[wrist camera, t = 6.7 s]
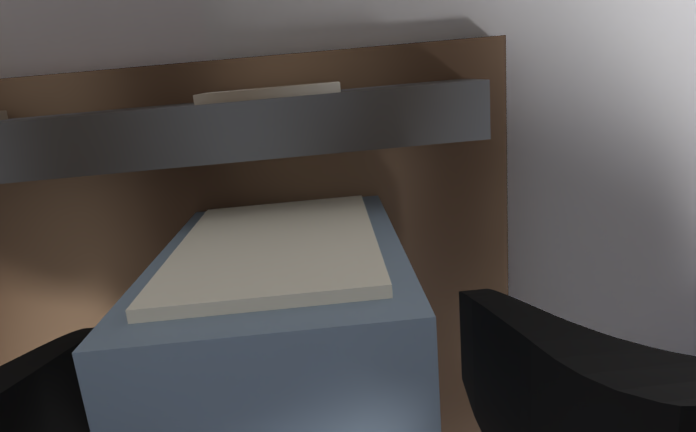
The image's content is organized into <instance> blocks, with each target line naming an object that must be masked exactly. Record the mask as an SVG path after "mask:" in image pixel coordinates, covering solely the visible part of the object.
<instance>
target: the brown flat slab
mask: <svg viewBox="0 0 696 432" xmlns="http://www.w3.org/2000/svg"><path fill="white" fill-rule="evenodd" d="M360 195H362V197H366V196H377V195H378V196H379V198H380V201H381V203H382V205H383V207H384V209H385V211H386V213H387V215H388V217H389V219H390V222H391V224H392V226H393V228H394V230H395V232H396V234H397V236H398V238H399V240H400V243H401V245H402V247H403V249H404V251H405V253H406V255H407V257H408V259H409V261H410V264H411V266H412V268H413V270H414V272H415V274H416V276H417V278H418V280H419V282H420V285H421V287H422V289H423V291H424V293H425V295H426V297H427V299H428V301H429V303H430V306H431V308H432V310H433V312H434V314H435V316H436V329H437V350H438V372H439V394H440V416H441V432H481V430H480V428H479V426H478V423H477V421H476V419H475V417H474V414H473V411H472V408H471V405H470V402H469V399H468V396H467V393H466V390H465V387H464V384H463V381H462V369H461V341H460V312H459V291H468V290H478V289H492V290H495V291H498V292H501V293H503V294H506V295H508V224H507V124H506V35H502V36H490V37H478V38H467V39H455V40H444V41H432V42H420V43H409V44H397V45H386V46H374V47H362V48H351V49H339V50H328V51H316V52H304V53H293V54H281V55H270V56H258V57H246V58H235V59H223V60H212V61H200V62H188V63H177V64H165V65H154V66H142V67H131V68H119V69H107V70H96V71H84V72H73V73H61V74H49V75H38V76H26V77H15V78H3V79H0V366H1V365H3V364H5V363H7V362H9V361H11V360H13V359H15V358H17V357H19V356H21V355H23V354H25V353H27V352H29V351H31V350H33V349H36V348H38V347H40V346H42V345H44V344H46V343H48V342H50V341H52V340H54V339H56V338H59V337H61V336H63V335H66V334H68V333H71V332H73V331H76V330H80V329H83V328H94V327H95V326H96V325H97V324H98V323H99V322H100V321H101V319H102V318H103V317H104V316H105V315H106V314H107V313H108V311H109V310H110V309H111V308H112V307H113V306H114V305H115V304H116V302H117V301H118V300H119V299H120V298H121V297H122V296H123V294H124V293H125V292H126V291H127V290H128V289H129V288H130V287H131V285H132V284H133V283H134V282H135V281H136V280H137V279H138V277H139V276H140V275H141V274H142V273H143V272H144V271H145V270H146V268H147V267H148V266H149V265H150V264H151V263H152V262H153V260H154V259H155V258H156V257H157V256H158V255H159V254H160V253H161V251H162V250H163V249H164V248H165V247H166V246H167V245H168V243H169V242H170V241H171V240H172V239H173V238H174V237H175V236H176V234H177V233H178V232H179V231H180V230H181V229H182V228H183V226H184V225H185V224H186V223H187V222H188V221H189V220H190V219H191V217H192V216H193V215H194V214H195V213H196V212H205V211H207V210H209V209H220V208H230V207H241V206H252V205H263V204H273V203H284V202H295V201H306V200H316V199H327V198H338V197H349V196H360Z"/></svg>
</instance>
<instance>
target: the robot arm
mask: <svg viewBox="0 0 696 432" xmlns="http://www.w3.org/2000/svg"><path fill="white" fill-rule="evenodd" d="M459 312H460V341H461V369H462V381H463V384H464V387H465V390H466V393H467V396H468V399H469V402H470V405H471V408H472V411H473V414H474V417H475V419H476V421H477V423H478V426H479V428H480V430H481V432H696V357H695V356H689V355H684V354H679V353H674V352H669V351H665V350H660V349H656V348H652V347H648V346H644V345H641V344H637V343H633V342H630V341H626V340H622V339H619V338H615V337H612V336H609V335H606V334H603V333H600V332H597V331H594V330H591V329H588V328H586V327H583V326H580V325H577V324H575V323H572V322H569V321H567V320H564V319H562V318H559V317H557V316H555V315H552V314H550V313H547V312H545V311H543V310H540V309H538V308H536V307H533V306H531V305H529V304H527V303H524V302H522V301H520V300H518V299H515V298H513V297H511V296H508V295H506V294H503V293H501V292H498V291H495V290H492V289H478V290H468V291H459ZM92 330H93V328H83V329H80V330H76V331H73V332H71V333H68V334H66V335H63V336H61V337H59V338H56V339H54V340H52V341H50V342H48V343H46V344H44V345H42V346H40V347H38V348H36V349H33V350H31V351H29V352H27V353H25V354H23V355H21V356H19V357H17V358H15V359H13V360H11V361H9V362H7V363H5V364H3V365H1V366H0V432H90V428H89V424H88V420H87V416H86V412H85V407H84V403H83V399H82V395H81V390H80V386H79V382H78V378H77V373H76V369H75V365H74V361H73V357H72V352H73V351H74V350H75V349H76V348H77V347H78V345H79V344H80V343H81V342H82V341H83V340H84V339H85V338H86V336H87V335H88V334H89V333H90V332H91V331H92Z"/></svg>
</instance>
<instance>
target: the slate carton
mask: <svg viewBox="0 0 696 432" xmlns="http://www.w3.org/2000/svg"><path fill="white" fill-rule="evenodd" d="M72 357H73V361H74V365H75V369H76V373H77V378H78V382H79V386H80V390H81V395H82V399H83V403H84V407H85V412H86V416H87V420H88V424H89V428H90V432H441V416H440V394H439V372H438V350H437V329H436V316H435V314H434V312H433V310H432V308H431V306H430V303H429V301H428V299H427V297H426V295H425V293H424V291H423V289H422V287H421V285H420V282H419V280H418V278H417V276H416V274H415V272H414V270H413V268H412V266H411V264H410V261H409V259H408V257H407V255H406V253H405V251H404V249H403V247H402V245H401V243H400V240H399V238H398V236H397V234H396V232H395V230H394V228H393V226H392V224H391V222H390V219H389V217H388V215H387V213H386V211H385V209H384V207H383V205H382V203H381V201H380V198H379V196H378V195H377V196H366V197H362V195H360V196H349V197H338V198H327V199H316V200H306V201H295V202H284V203H273V204H263V205H252V206H241V207H230V208H220V209H209V210H207V211H205V212H196V213H195V214H194V215H193V216H192V217H191V219H190V220H189V221H188V222H187V223H186V224H185V225H184V226H183V228H182V229H181V230H180V231H179V232H178V233H177V234H176V236H175V237H174V238H173V239H172V240H171V241H170V242H169V243H168V245H167V246H166V247H165V248H164V249H163V250H162V251H161V253H160V254H159V255H158V256H157V257H156V258H155V259H154V260H153V262H152V263H151V264H150V265H149V266H148V267H147V268H146V270H145V271H144V272H143V273H142V274H141V275H140V276H139V277H138V279H137V280H136V281H135V282H134V283H133V284H132V285H131V287H130V288H129V289H128V290H127V291H126V292H125V293H124V294H123V296H122V297H121V298H120V299H119V300H118V301H117V302H116V304H115V305H114V306H113V307H112V308H111V309H110V310H109V311H108V313H107V314H106V315H105V316H104V317H103V318H102V319H101V321H100V322H99V323H98V324H97V325H96V326H95V327H94V328H93V330H92V331H91V332H90V333H89V334H88V335H87V336H86V338H85V339H84V340H83V341H82V342H81V343H80V344H79V345H78V347H77V348H76V349H75V350H74V351H73V352H72Z"/></svg>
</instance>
